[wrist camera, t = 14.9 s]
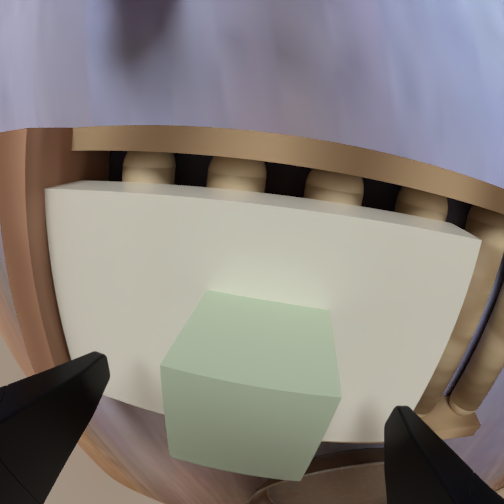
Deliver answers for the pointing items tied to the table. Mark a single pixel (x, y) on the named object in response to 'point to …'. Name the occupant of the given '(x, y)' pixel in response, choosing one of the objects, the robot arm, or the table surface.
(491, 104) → the table surface
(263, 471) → the block
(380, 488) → the plant saucer
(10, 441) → the robot arm
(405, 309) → the slab
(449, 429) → the roller track
